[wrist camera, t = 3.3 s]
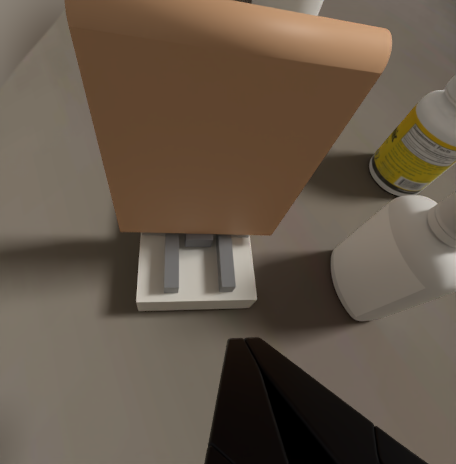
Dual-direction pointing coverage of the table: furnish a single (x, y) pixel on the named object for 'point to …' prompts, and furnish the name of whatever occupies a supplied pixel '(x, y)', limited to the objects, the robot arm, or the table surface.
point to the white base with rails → (194, 273)
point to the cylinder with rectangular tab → (293, 5)
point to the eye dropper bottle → (397, 258)
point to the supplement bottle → (419, 145)
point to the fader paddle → (216, 106)
